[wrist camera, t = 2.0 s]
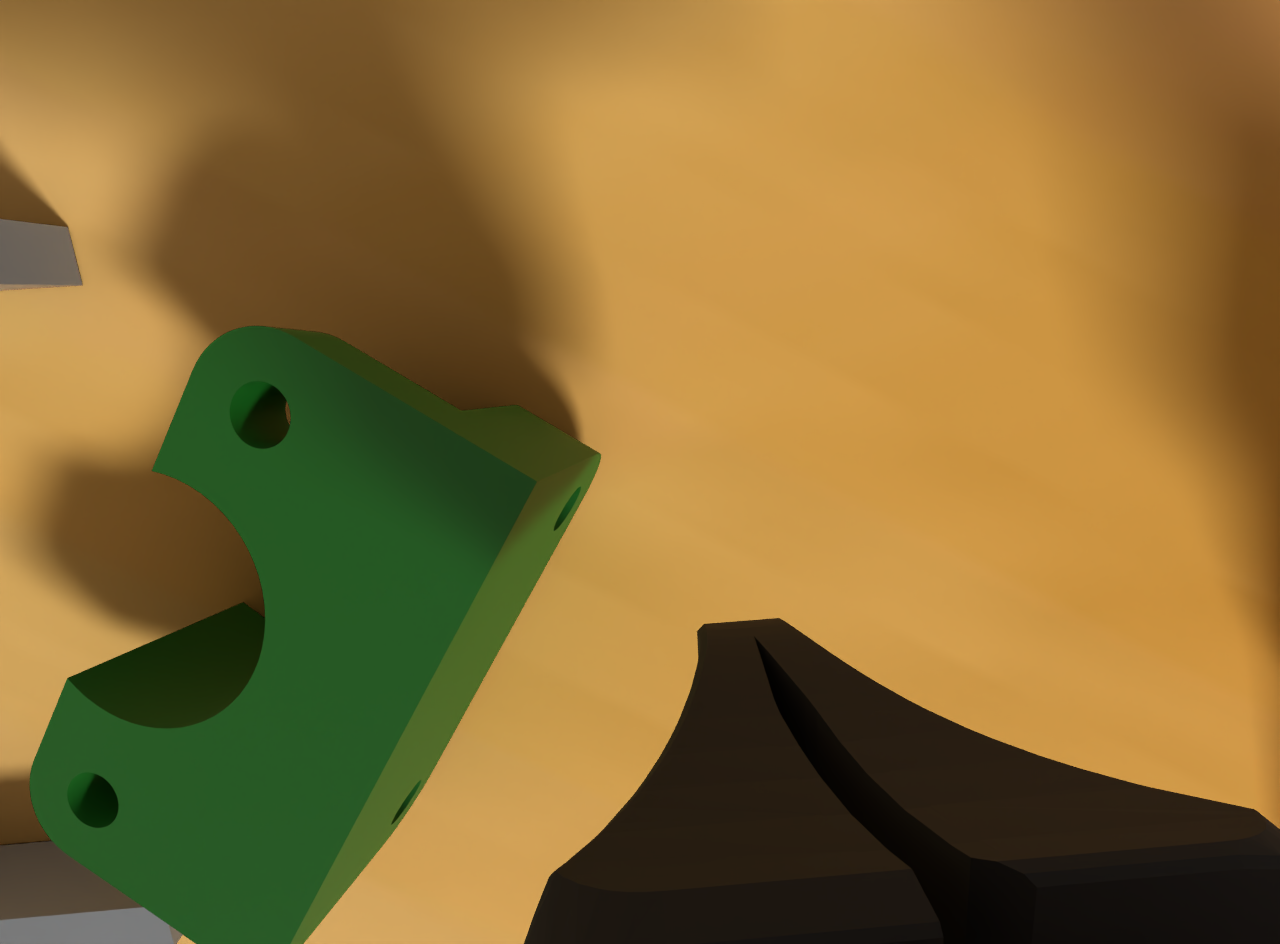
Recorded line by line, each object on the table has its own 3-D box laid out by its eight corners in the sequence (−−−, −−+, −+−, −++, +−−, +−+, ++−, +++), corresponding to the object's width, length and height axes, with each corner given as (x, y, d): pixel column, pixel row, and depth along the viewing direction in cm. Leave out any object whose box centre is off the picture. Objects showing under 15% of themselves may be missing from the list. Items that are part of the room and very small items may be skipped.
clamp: (429, 391, 21) (290, 212, 12) (603, 495, 20) (596, 389, 11) (162, 768, 18) (-269, 902, 9) (355, 897, 18) (95, 1168, 9)
